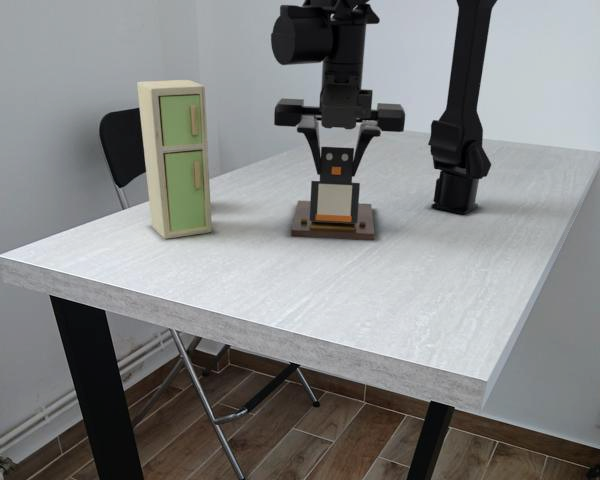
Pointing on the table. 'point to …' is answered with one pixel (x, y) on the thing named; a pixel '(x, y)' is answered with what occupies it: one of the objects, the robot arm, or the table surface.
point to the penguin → (335, 188)
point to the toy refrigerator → (176, 156)
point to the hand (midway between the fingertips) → (335, 175)
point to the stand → (333, 224)
